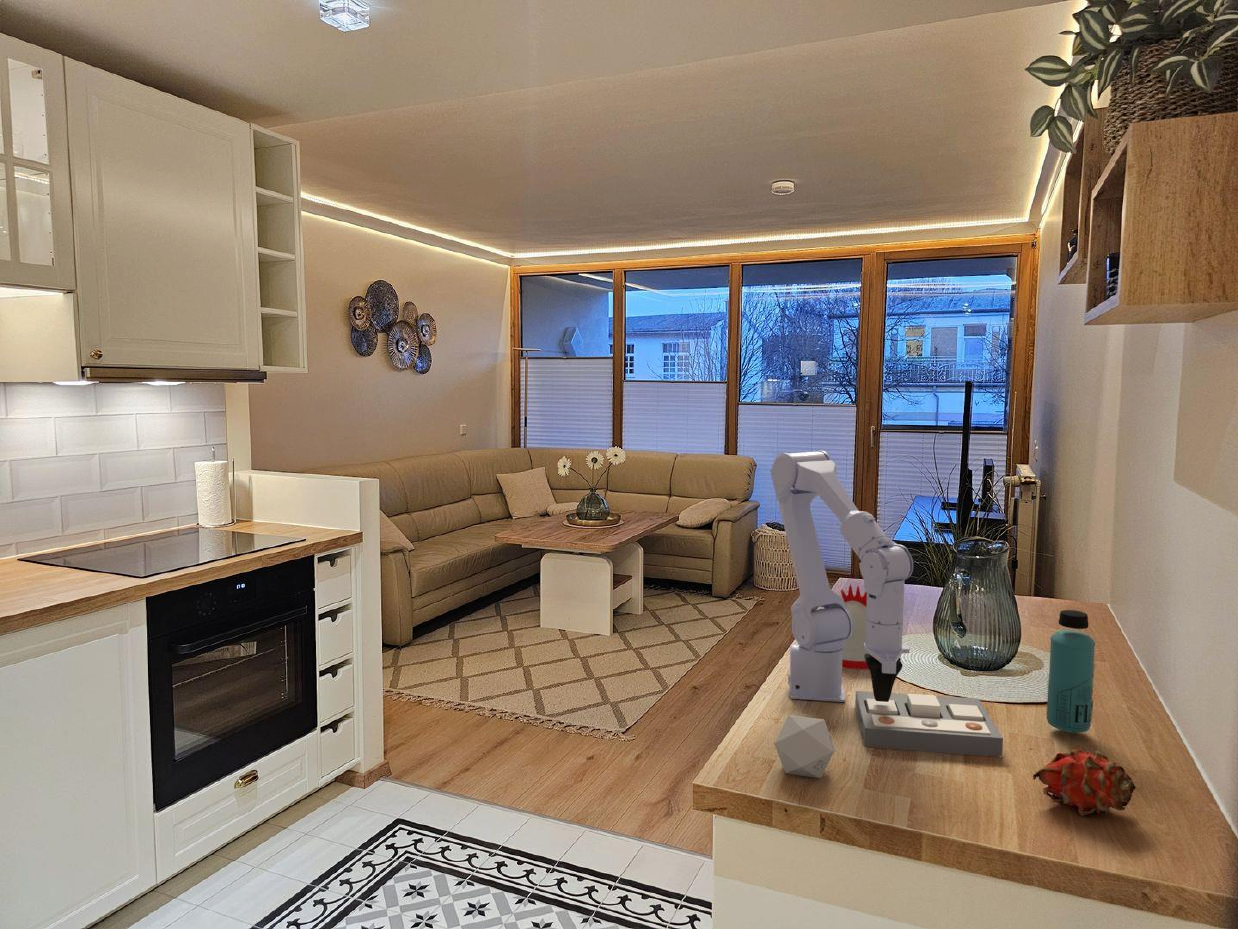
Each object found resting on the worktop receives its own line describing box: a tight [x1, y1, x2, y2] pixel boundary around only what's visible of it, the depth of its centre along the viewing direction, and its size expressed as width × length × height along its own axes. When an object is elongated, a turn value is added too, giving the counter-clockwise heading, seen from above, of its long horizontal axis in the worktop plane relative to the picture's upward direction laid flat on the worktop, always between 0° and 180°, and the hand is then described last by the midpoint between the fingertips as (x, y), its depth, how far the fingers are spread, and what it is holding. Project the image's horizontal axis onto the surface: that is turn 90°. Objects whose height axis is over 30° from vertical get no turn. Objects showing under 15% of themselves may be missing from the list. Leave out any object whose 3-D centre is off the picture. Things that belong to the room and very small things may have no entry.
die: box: [773, 714, 836, 780], centre depth 119 cm, size 8×9×10 cm
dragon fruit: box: [1032, 748, 1137, 817], centre depth 108 cm, size 8×8×12 cm
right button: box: [948, 704, 983, 721], centre depth 132 cm, size 4×4×2 cm
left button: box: [866, 699, 898, 715], centre depth 134 cm, size 4×4×2 cm
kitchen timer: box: [840, 584, 869, 670], centre depth 165 cm, size 14×14×15 cm
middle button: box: [906, 693, 941, 718], centre depth 133 cm, size 4×4×2 cm
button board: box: [854, 690, 1004, 757], centre depth 132 cm, size 20×15×3 cm
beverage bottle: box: [1045, 609, 1096, 734], centre depth 130 cm, size 6×7×20 cm
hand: (881, 700), depth 134 cm, fingers closed
